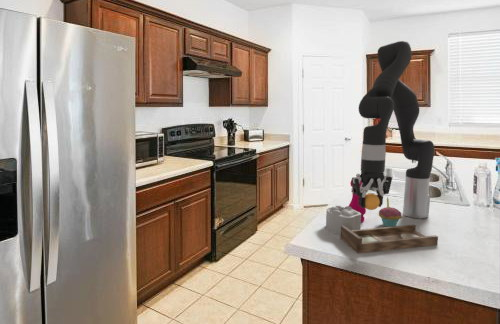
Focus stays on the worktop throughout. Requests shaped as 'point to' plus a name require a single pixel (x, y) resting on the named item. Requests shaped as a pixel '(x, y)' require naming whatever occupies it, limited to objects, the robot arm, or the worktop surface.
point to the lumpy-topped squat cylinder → (342, 219)
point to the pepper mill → (357, 202)
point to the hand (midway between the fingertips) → (370, 206)
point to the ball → (371, 201)
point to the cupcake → (389, 215)
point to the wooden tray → (385, 238)
